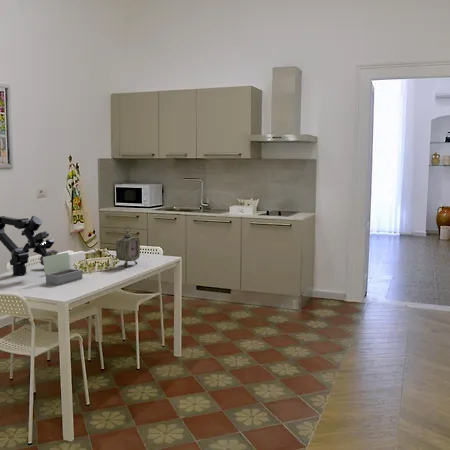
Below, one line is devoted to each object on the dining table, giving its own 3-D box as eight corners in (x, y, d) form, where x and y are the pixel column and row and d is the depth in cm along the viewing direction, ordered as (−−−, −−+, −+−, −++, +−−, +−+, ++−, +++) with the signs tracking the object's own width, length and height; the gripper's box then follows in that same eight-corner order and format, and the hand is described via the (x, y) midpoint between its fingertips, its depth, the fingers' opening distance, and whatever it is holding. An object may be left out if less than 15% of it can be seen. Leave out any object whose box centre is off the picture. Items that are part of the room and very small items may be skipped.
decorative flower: (39, 255, 322) (44, 244, 336) (35, 271, 326) (40, 260, 340) (63, 260, 325) (67, 249, 339) (60, 277, 329) (63, 265, 343)
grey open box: (46, 283, 290) (45, 274, 290) (70, 277, 306) (70, 268, 305) (57, 285, 286) (57, 276, 285) (82, 279, 301) (82, 270, 301)
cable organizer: (69, 274, 314) (68, 254, 313) (55, 272, 319) (54, 253, 317) (85, 269, 328) (85, 250, 327) (72, 268, 332) (71, 249, 331)
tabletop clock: (128, 268, 331) (127, 227, 328) (115, 267, 334) (114, 227, 331) (140, 263, 344) (139, 225, 341) (128, 262, 348) (127, 224, 345)
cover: (45, 274, 290) (44, 274, 290) (70, 268, 305) (69, 268, 305) (43, 257, 289) (42, 257, 290) (68, 252, 304) (67, 252, 305)
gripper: (25, 228, 293) (40, 250, 289) (51, 224, 309) (66, 245, 305) (16, 241, 298) (30, 263, 294) (42, 237, 314) (57, 257, 310)
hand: (46, 256), depth 301 cm, fingers closed
